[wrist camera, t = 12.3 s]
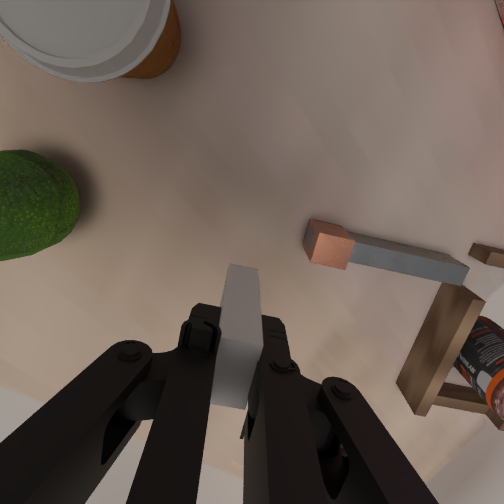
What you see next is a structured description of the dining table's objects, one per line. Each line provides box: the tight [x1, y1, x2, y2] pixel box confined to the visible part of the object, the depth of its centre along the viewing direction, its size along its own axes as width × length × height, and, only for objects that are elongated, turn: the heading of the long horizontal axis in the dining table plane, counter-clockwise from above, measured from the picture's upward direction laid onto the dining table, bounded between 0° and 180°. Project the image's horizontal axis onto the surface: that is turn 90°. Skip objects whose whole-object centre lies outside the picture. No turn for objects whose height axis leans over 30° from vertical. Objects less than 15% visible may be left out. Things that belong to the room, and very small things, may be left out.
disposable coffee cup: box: [0, 0, 181, 82], centre depth 20 cm, size 10×10×12 cm
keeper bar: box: [302, 219, 469, 286], centre depth 30 cm, size 3×14×4 cm, turn 77°
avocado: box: [0, 150, 80, 261], centre depth 24 cm, size 8×8×12 cm
